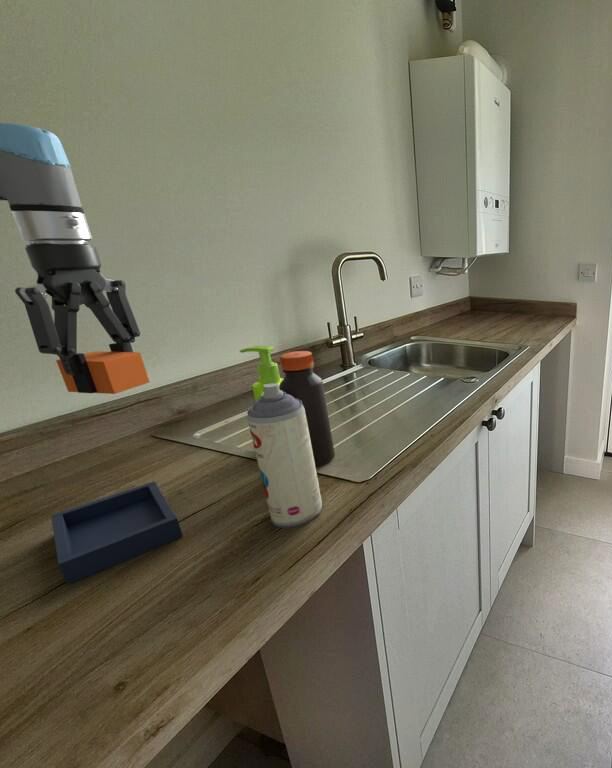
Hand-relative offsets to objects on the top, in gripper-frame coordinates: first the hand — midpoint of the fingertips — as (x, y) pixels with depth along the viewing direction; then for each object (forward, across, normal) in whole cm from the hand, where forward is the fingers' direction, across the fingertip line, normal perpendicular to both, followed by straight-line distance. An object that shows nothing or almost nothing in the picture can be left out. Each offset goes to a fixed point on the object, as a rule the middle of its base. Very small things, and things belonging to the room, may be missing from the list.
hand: (109, 385), depth 70 cm
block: (0, 0, 0) cm, 0 cm away
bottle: (+15, +5, -32) cm, 36 cm away
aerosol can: (+15, -10, -39) cm, 43 cm away
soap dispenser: (+15, +9, -22) cm, 28 cm away
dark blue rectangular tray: (+15, -18, -18) cm, 29 cm away
